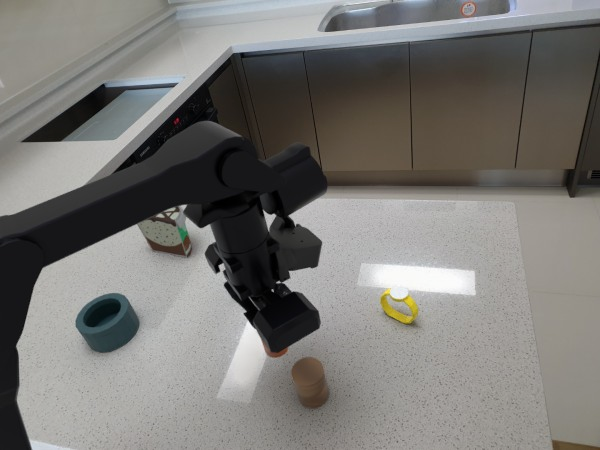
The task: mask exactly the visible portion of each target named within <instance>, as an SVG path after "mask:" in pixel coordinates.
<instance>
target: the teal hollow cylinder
mask: <svg viewBox="0 0 600 450" xmlns="http://www.w3.org/2000/svg"><path fill="white" fill-rule="evenodd" d="M75 328H76V330H77V331H78V332H79V334H80V336H82V338H83V340H84V341H85V342H86V344H87V345H88V346H89V348H90V349H91V350H93V351H94V352H97V353H108V352H113V351H115V350H116V351H117V350H119V348H121V347H123V346H125V345H126V344H128V343H129V342H130V341H131V340H132V339H133V338H134V336H135V335H136V334H137V332H138V330H139V328H140V319H139V317H138V314H137V312H136V311H135V309H134V308H133V305H132V304H131V302H130V301H129V299H128V298H127V296H126V295H124V294H122V293H120V292H110V293H105V294H102V295H100V296H97V297H95V298H94V299H92V300H90V301H89V302H88V303H86V304H85V305H84V306H83V307H82V308H81V309H80V310H79V312H78V313H77V315H76V318H75Z"/></svg>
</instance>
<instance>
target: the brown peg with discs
mask: <svg viewBox="0 0 600 450" xmlns="http://www.w3.org/2000/svg"><path fill="white" fill-rule="evenodd" d="M260 340H261V344H262V346H263V350H264V352H265V354H266V356H268V357H270V358H273V359H277V358H281V357H283V356H284V355H286V353H287V352H288V350H289V347H290V346H289V347H287V348H286V349H284V350H282V351H281V352H279V353H273V352H270V350H269V349H268V348H267V346H266V345H265V343H264V342H263V341H262V339H261V338H260Z"/></svg>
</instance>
